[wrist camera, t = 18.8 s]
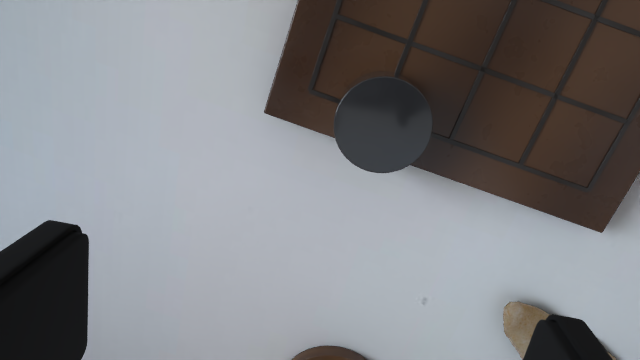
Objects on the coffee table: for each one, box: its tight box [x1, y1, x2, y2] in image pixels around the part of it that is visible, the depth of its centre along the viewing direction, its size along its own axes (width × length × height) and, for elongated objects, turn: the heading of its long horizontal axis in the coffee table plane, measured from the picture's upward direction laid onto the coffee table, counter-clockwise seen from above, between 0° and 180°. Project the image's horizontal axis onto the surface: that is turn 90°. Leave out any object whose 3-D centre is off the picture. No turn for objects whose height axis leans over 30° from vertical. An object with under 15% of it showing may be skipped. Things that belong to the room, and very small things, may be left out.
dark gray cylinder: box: [334, 71, 433, 173], centre depth 25 cm, size 5×5×2 cm
